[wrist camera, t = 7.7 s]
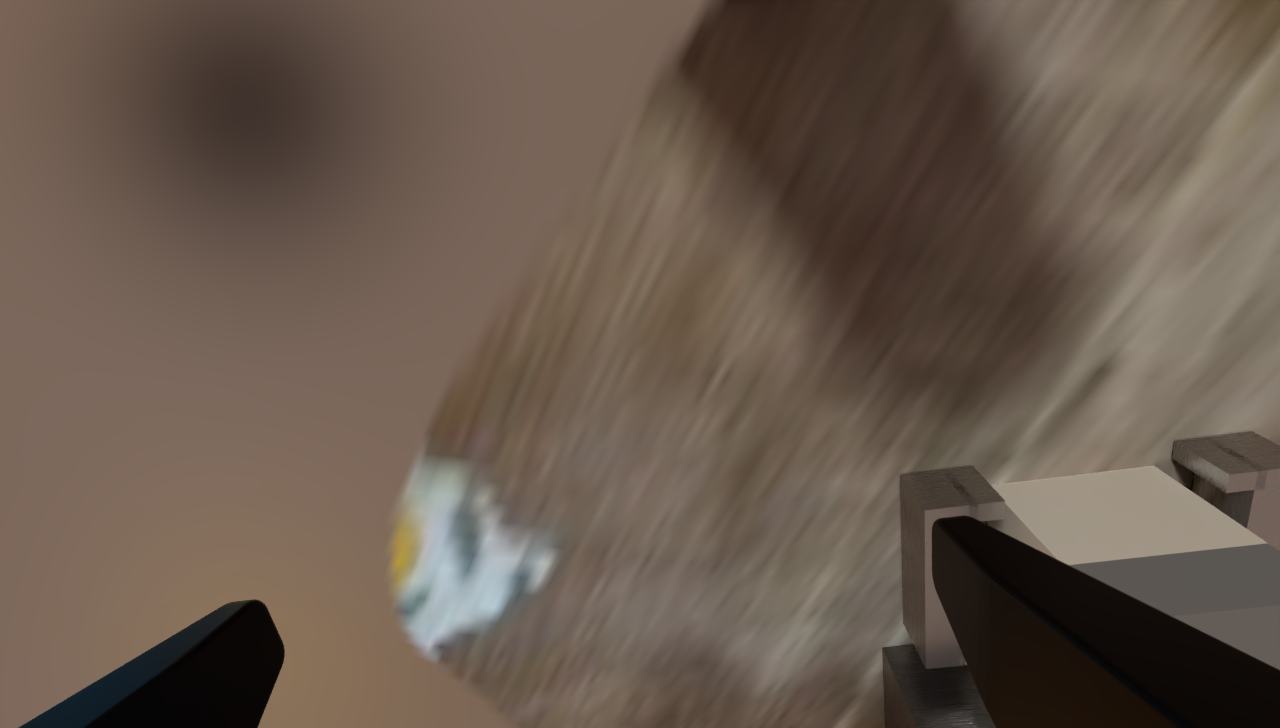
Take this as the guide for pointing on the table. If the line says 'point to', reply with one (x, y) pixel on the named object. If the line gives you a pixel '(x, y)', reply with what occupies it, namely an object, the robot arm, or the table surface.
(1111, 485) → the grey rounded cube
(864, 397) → the table surface
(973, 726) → the knobbed block assembly
